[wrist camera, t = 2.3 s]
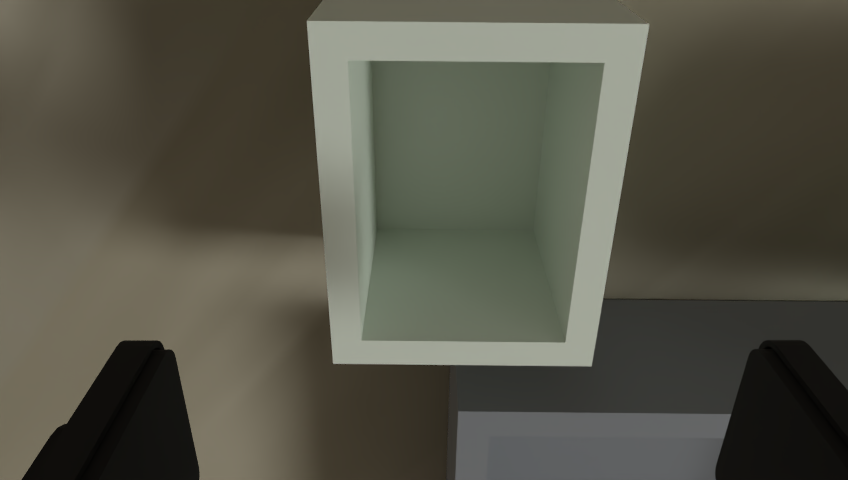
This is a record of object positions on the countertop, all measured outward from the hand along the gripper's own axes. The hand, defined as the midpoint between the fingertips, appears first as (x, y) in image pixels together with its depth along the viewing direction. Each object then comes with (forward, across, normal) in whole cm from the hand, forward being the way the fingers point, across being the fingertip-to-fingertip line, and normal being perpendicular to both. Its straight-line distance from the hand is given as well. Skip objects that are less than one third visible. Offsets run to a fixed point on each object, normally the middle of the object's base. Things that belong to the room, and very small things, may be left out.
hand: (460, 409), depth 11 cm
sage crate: (+13, -1, -1) cm, 13 cm away
